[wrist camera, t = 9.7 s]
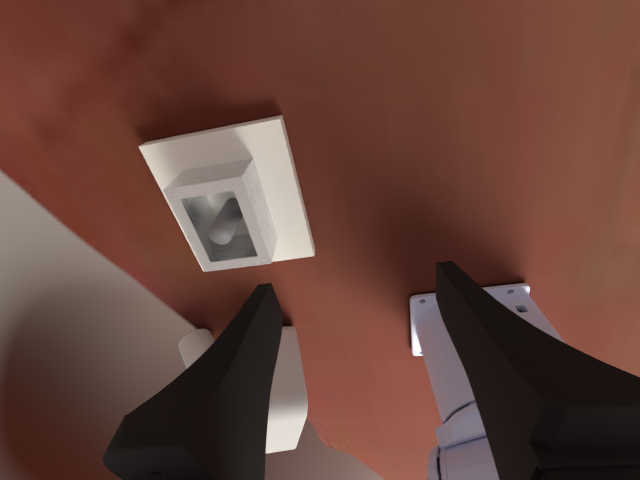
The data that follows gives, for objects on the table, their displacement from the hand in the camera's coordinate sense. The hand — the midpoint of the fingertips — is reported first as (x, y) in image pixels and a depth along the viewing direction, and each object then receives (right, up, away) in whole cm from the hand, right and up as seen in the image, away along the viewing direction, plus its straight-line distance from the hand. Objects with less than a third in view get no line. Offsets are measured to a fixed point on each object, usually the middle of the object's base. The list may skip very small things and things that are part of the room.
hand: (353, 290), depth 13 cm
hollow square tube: (-7, +5, +7) cm, 11 cm away
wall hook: (-9, -8, +17) cm, 21 cm away
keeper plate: (-7, +5, +8) cm, 12 cm away
